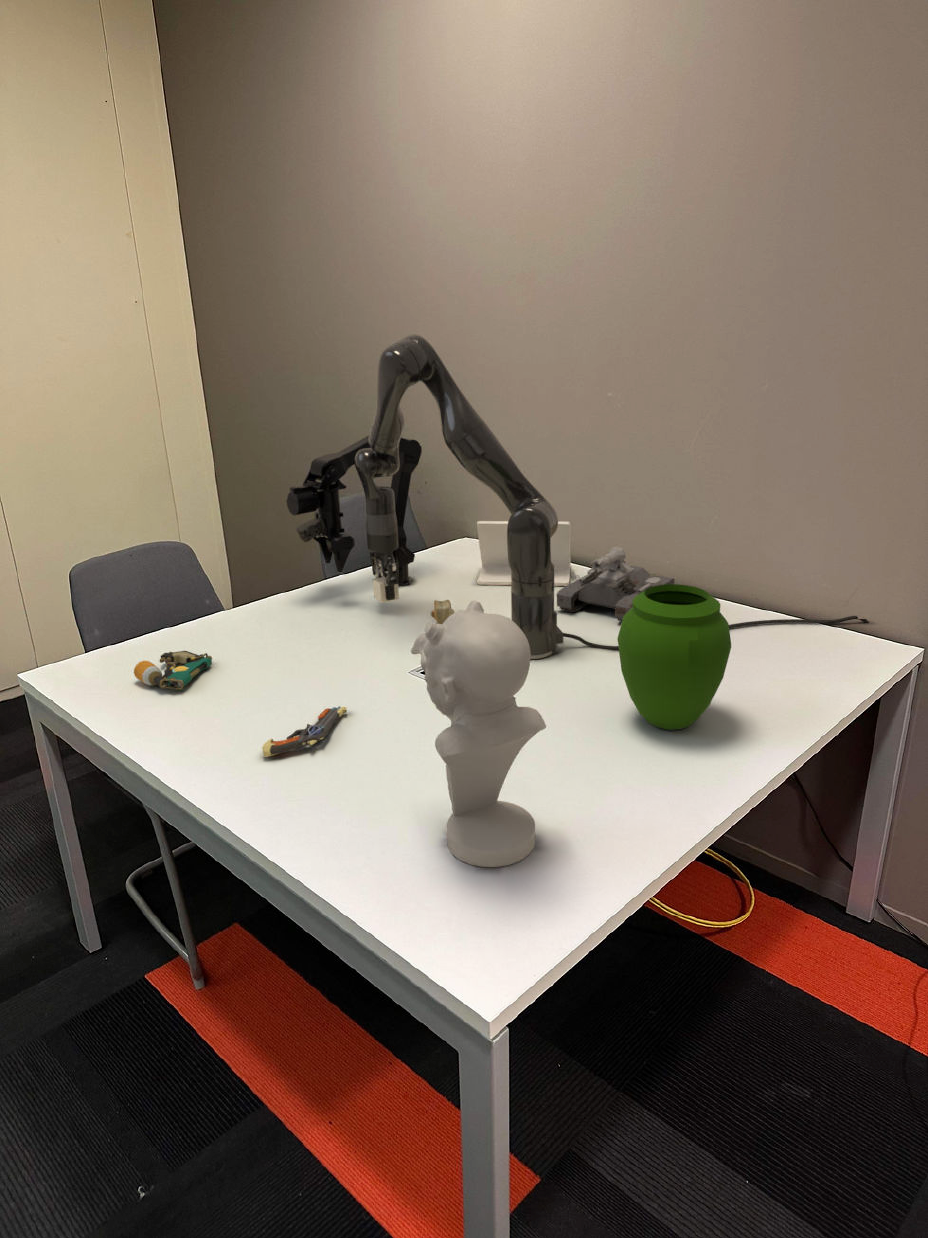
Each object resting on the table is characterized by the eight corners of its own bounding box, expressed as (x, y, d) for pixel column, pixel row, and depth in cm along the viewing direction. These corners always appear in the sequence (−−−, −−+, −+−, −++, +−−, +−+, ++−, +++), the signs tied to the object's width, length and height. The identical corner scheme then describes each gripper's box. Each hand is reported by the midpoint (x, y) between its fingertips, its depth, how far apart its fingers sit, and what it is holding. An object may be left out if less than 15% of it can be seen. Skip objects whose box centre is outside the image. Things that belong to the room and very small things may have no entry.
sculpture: (458, 662, 183) (456, 596, 178) (460, 676, 176) (457, 608, 171) (431, 663, 183) (428, 597, 177) (431, 677, 176) (428, 609, 171)
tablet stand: (569, 585, 229) (570, 524, 223) (476, 584, 232) (475, 523, 226) (570, 566, 246) (571, 508, 240) (484, 564, 249) (483, 507, 243)
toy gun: (257, 746, 146) (311, 744, 144) (298, 704, 164) (347, 701, 161) (260, 761, 146) (314, 759, 144) (300, 717, 164) (349, 715, 162)
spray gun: (177, 659, 191) (231, 671, 185) (120, 684, 176) (176, 698, 171) (176, 641, 190) (230, 653, 184) (118, 665, 175) (174, 678, 169)
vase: (737, 711, 158) (749, 586, 150) (704, 757, 143) (715, 621, 134) (638, 689, 168) (643, 571, 160) (597, 730, 153) (601, 602, 144)
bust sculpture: (481, 772, 140) (476, 569, 128) (565, 848, 120) (569, 617, 108) (392, 800, 134) (378, 588, 121) (465, 886, 114) (457, 642, 101)
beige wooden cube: (392, 594, 216) (390, 575, 214) (399, 599, 212) (398, 580, 210) (374, 597, 214) (372, 578, 212) (381, 602, 210) (379, 583, 208)
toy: (603, 584, 229) (605, 530, 224) (673, 597, 218) (677, 540, 213) (555, 612, 210) (556, 553, 205) (630, 627, 199) (633, 566, 194)
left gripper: (287, 505, 220) (293, 563, 226) (309, 520, 204) (315, 582, 210) (328, 499, 225) (333, 556, 230) (353, 514, 209) (357, 574, 215)
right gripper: (357, 526, 211) (362, 591, 217) (378, 538, 199) (383, 607, 205) (385, 521, 215) (389, 586, 221) (407, 534, 202) (411, 602, 208)
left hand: (333, 567), depth 221 cm, fingers open, 9 cm apart
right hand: (386, 596), depth 213 cm, fingers closed on beige wooden cube, 4 cm apart
